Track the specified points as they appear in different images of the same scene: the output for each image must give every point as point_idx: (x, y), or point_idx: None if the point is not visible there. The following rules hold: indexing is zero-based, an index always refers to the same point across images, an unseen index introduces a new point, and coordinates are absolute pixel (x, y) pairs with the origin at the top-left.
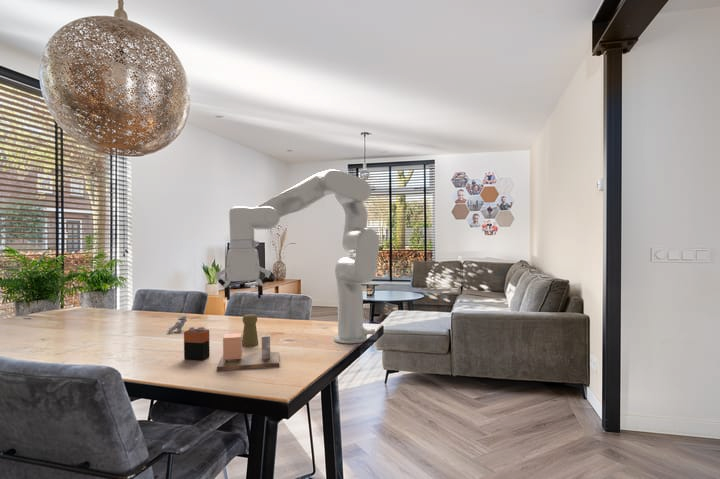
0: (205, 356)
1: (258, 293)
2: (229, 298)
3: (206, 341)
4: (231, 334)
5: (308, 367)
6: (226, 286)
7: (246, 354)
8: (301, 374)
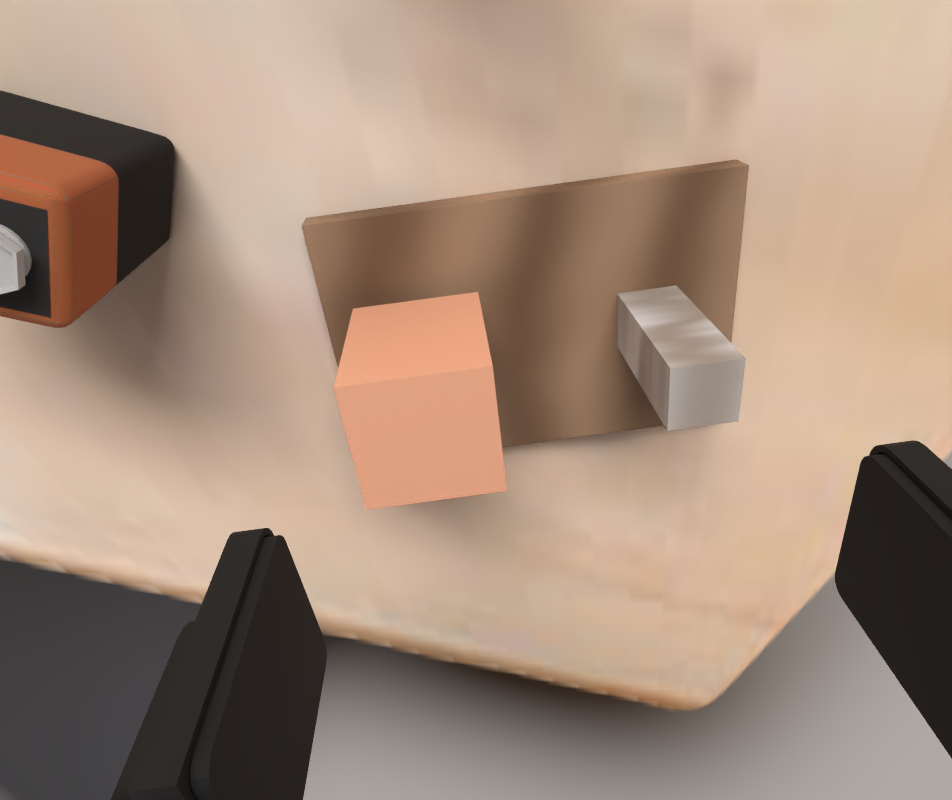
0: (166, 212)
1: (891, 659)
2: (310, 625)
3: (118, 230)
4: (402, 407)
5: (868, 424)
6: None
7: (495, 214)
8: (805, 515)
